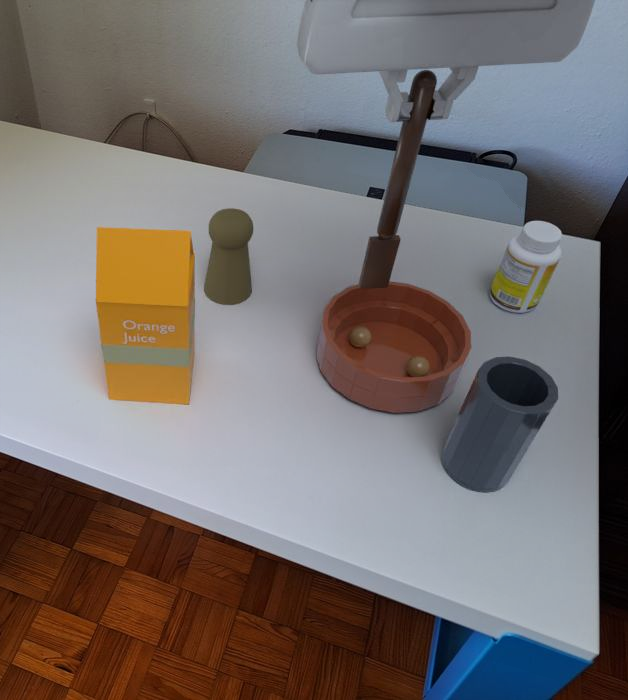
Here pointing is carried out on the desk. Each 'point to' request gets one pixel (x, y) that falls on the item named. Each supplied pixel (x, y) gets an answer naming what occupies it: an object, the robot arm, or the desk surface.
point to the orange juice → (146, 313)
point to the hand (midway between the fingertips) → (415, 117)
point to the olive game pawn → (229, 257)
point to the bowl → (392, 346)
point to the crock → (498, 422)
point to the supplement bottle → (527, 267)
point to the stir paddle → (398, 186)
